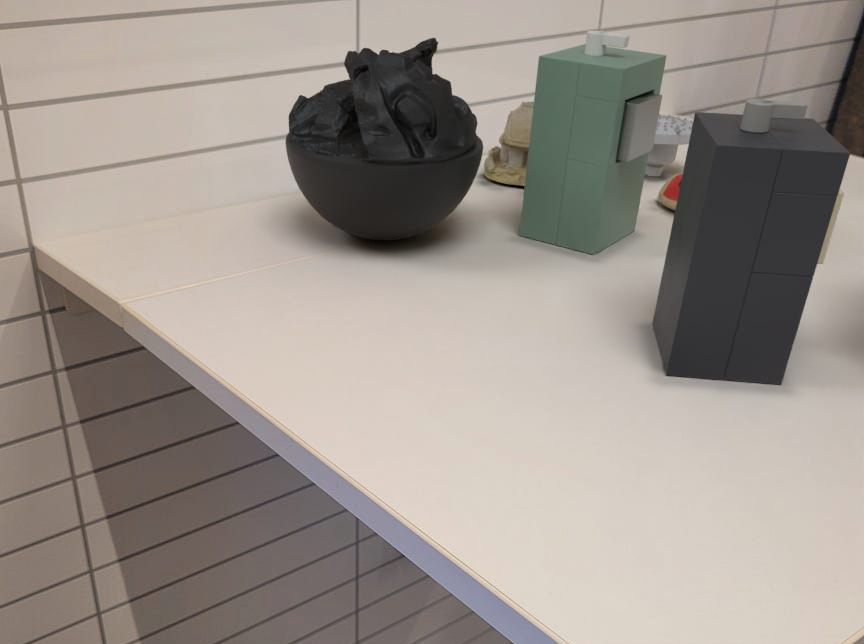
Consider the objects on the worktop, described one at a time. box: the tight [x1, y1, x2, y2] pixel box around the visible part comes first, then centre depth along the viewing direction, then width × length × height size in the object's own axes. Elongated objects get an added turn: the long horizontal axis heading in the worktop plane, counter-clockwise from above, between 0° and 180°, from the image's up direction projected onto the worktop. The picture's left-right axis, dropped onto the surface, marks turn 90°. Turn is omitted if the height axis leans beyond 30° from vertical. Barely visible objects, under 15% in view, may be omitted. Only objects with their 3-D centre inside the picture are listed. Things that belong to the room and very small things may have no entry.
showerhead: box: [645, 113, 693, 178], centre depth 121 cm, size 9×7×10 cm
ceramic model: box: [483, 101, 534, 187], centre depth 116 cm, size 14×11×10 cm
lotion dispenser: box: [651, 98, 851, 385], centre depth 73 cm, size 9×10×20 cm
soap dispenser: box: [518, 30, 667, 256], centre depth 97 cm, size 9×10×20 cm
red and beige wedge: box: [657, 173, 683, 212], centre depth 110 cm, size 7×10×4 cm
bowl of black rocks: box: [285, 37, 484, 241], centre depth 95 cm, size 20×20×19 cm
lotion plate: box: [817, 188, 845, 265], centre depth 72 cm, size 1×6×5 cm, turn 173°
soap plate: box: [616, 93, 663, 162], centre depth 94 cm, size 1×6×5 cm, turn 143°
